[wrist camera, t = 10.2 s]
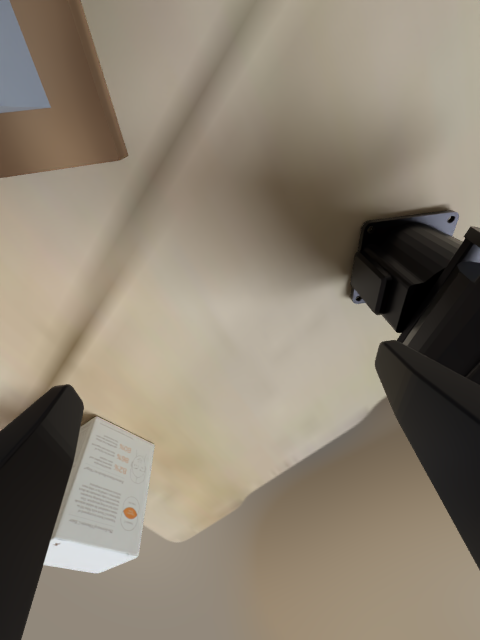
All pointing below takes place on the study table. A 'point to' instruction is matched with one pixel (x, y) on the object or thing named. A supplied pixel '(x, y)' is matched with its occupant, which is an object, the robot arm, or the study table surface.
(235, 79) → the study table surface
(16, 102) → the blue cube
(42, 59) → the walnut slab
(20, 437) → the robot arm
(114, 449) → the small box
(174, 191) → the study table surface
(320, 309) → the study table surface
